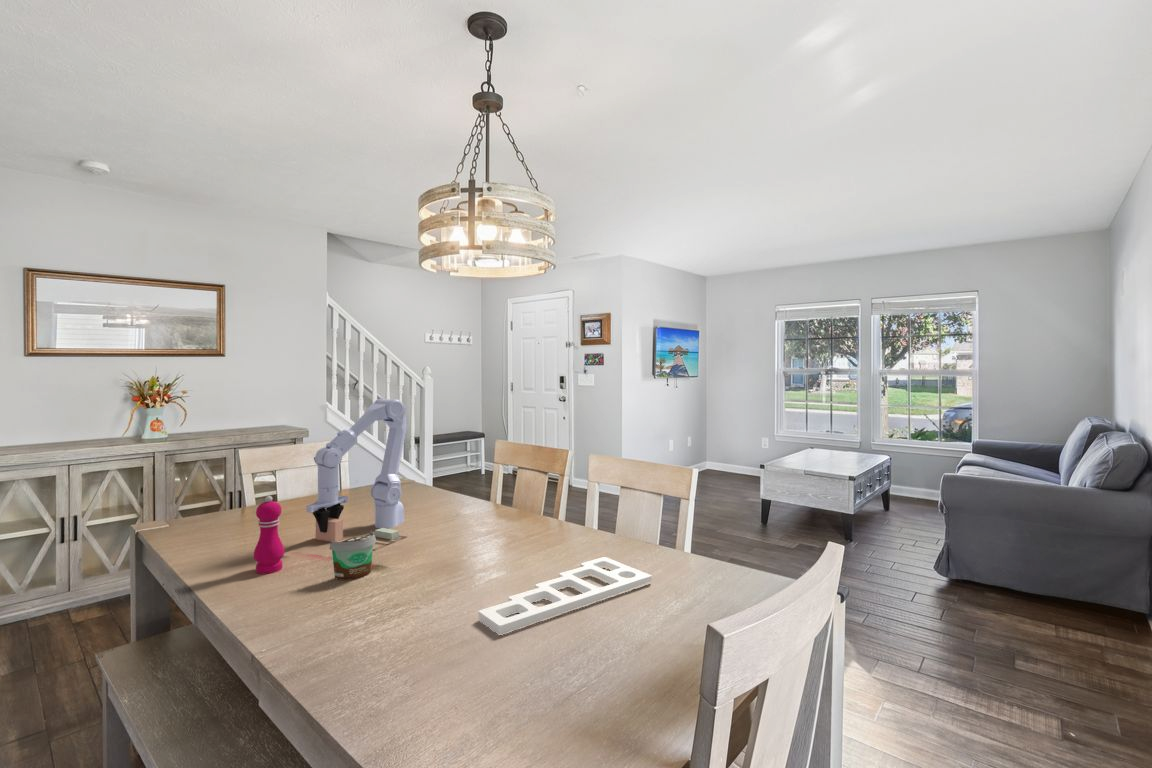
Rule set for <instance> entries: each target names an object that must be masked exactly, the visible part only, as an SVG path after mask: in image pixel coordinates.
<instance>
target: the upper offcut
mask: <svg viewBox="0 0 1152 768" xmlns="http://www.w3.org/2000/svg"><path fill="white" fill-rule="evenodd" d="M374 533H375V538H379V537H380V538H381V539H384V540H386V539H387V540H389V541H394V540H393V539H395V538H398V537H399V535H400V532H399V530H398V529H397V530H396V529H392V528H391V529H390V528H376V529H375V530H374ZM380 538H379V539H380Z"/></svg>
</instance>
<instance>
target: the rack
mask: <svg viewBox="0 0 1152 768" xmlns="http://www.w3.org/2000/svg"><path fill="white" fill-rule="evenodd" d="M373 533H374V535H375V532H373ZM399 537H401V538H399V539H397V540H389V539H387V540H386V539H383V538H381V539H380V538H376V543H375V545H381V546H379V547H376V548H373V552H375V551H378V550H380V549H383V548H384V547H387V546H389V545H392V544H395V543H397V542H399V541H401V540H404V539H406V538H407V536H404V535H400V534H399ZM377 541H380V542H377ZM383 542H385V543H383ZM386 542H387V543H386Z"/></svg>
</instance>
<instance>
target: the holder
mask: <svg viewBox="0 0 1152 768" xmlns="http://www.w3.org/2000/svg"><path fill="white" fill-rule="evenodd" d="M600 566H607V567H610V568H612V569H614V570H612V571H609V570H607V569H602V568H600ZM589 574H592V575H595V576H597V577H600V578H602V579H604V580H606V581H608V582H610V583H613V584H610V585H608V584H606V585H604V586H598V585H595V584H592V583H591V582H588V581H586V580H584V579H580V578H578V577H582V576H585V575H589ZM626 576H628V577H631V578H625V577H626ZM650 581H651V582H652V574H649V573H647V572H644V571H642V570H639V569H638V568H634V567H632V566H628V564H627V565H626V564H623V563H622V562H619V561H617V560H614V559H611V558H610V557H608V556H607V557H606V556H602V557H599V558H595V559H592V560H588V561H584V562H581V563H580V567H576V568H574V569H569V570H566V571H563V572H562V571H561V572H559V573H558V577H557V578H553V579H549V580H545V581H541V582H538V583H536V584H535V587H534V589H530V590H526V591H524V592H520V593H516V594H514V595H509V596H508V601H505V602H503V603H500V604H496V605H493V606H489V607H486V608H483V609H480V610H478V621H479V620H480V621H481V622H482V623H484V624H485V625H487V626H488V627H490V628H491V629H492V630H494V631H495V632H497V633H498V634H503V633H506V632H509V631H511V630H515V629H517V628H520V627H523V626H526V625H529V624H531V623H534V622H537V621H540V620H542V619H545V618H548V617H551V616H554V615H556V614H559V613H562V612H565V611H568V610H571V609H574V608H577V607H580V606H583V605H586V604H589V603H592V602H594V601H597V600H600V599H603V598H606V597H608V596H611V595H615V594H618V593H620V592H623V591H626V590H629V589H631V588H634V587H637V586H639V585H642V584H645V583H647V582H650ZM568 585H569V586H573V587H575V588H576V589H579V590H580V591H582V592H584V593H582V594H581V593H579V594H576V595H573V596H569V595H567V594H565V593H564V592H561V591H560V590H559V591H558V590H556V589H558V588H561V587H565V586H568ZM542 598H547V599H549V600H551V601H553V602H554V603H551V602H550V603H548V604H546V605H542V606H537V605H534V603H533V604H531V603H530V602H533V601H536V600H539V599H542ZM515 612H521V613H520V614H514V615H511V616H508V617H503V616H506V615H509V614H512V613H515ZM482 623H481V624H482Z"/></svg>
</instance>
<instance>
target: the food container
mask: <svg viewBox="0 0 1152 768" xmlns="http://www.w3.org/2000/svg"><path fill="white" fill-rule="evenodd" d="M374 533H375V532H374V531H371V530H370V531H369V534H366V535H363V536H355V537H350V538H348V539H345V540H341V541H338V542H334V541H331V542H330V544H329V550H331V554H332V562H333V563H332V564H333V572H334V579H336V578H337V579H336V580H340V579H342V580H341V581H351V580H350V579H352V580H357V579H362V578H364V576H365V577H367V576H369V575H370V574H371V572H372V564H373V563H372V561H373V552H374V551H373V549H374V544H375V543H376V542H377V540H376V539H377V537H375V535H374ZM375 545H376V544H375ZM369 573H370V574H369ZM361 577H362V578H361Z"/></svg>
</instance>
